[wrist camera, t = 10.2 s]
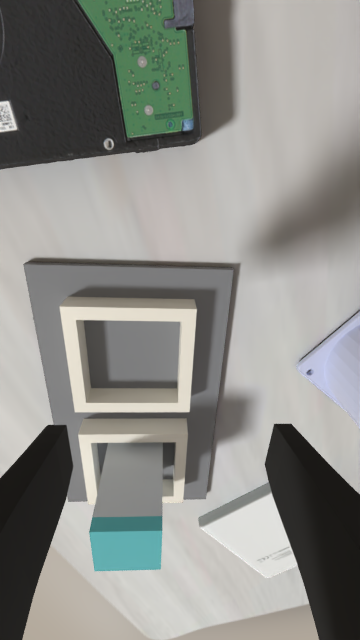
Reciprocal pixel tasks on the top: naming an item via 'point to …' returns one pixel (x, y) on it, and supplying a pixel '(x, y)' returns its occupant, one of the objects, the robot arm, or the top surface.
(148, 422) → the frame
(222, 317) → the mat
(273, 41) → the top surface
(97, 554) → the plug
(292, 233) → the top surface
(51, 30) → the disk drive
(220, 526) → the external hard drive
